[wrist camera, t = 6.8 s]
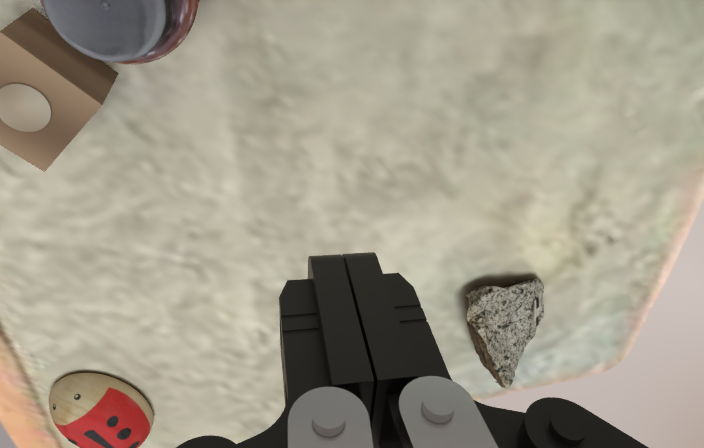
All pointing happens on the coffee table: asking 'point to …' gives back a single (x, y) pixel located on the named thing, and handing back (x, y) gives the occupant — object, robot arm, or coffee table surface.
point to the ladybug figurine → (100, 412)
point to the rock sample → (504, 325)
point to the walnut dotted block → (45, 89)
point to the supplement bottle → (122, 27)
